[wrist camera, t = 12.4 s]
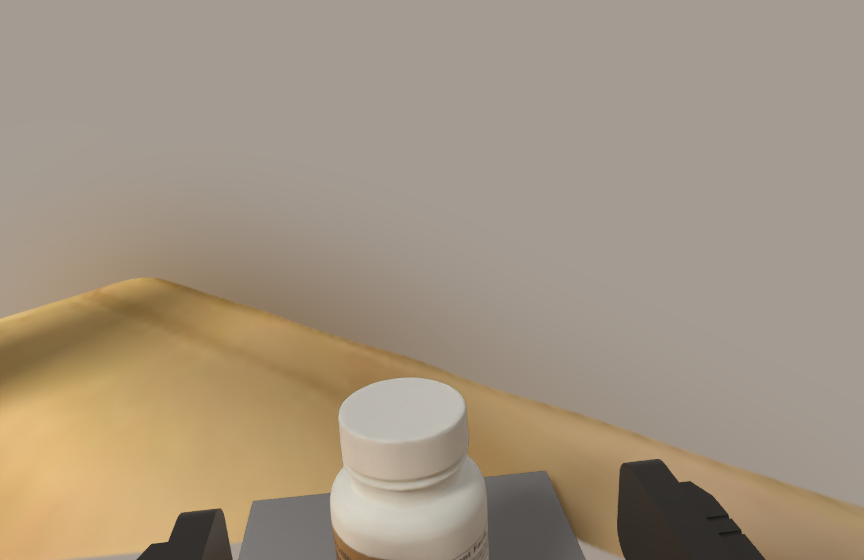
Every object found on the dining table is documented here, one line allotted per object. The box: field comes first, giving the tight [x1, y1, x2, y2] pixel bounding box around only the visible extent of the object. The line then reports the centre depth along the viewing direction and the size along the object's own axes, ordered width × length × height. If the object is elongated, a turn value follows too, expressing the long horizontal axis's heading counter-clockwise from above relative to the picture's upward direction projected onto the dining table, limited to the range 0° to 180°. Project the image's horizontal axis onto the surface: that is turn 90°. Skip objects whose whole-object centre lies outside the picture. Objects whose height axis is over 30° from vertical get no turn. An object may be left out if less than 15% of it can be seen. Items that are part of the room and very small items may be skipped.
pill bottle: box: [330, 377, 489, 560], centre depth 19 cm, size 4×4×8 cm
